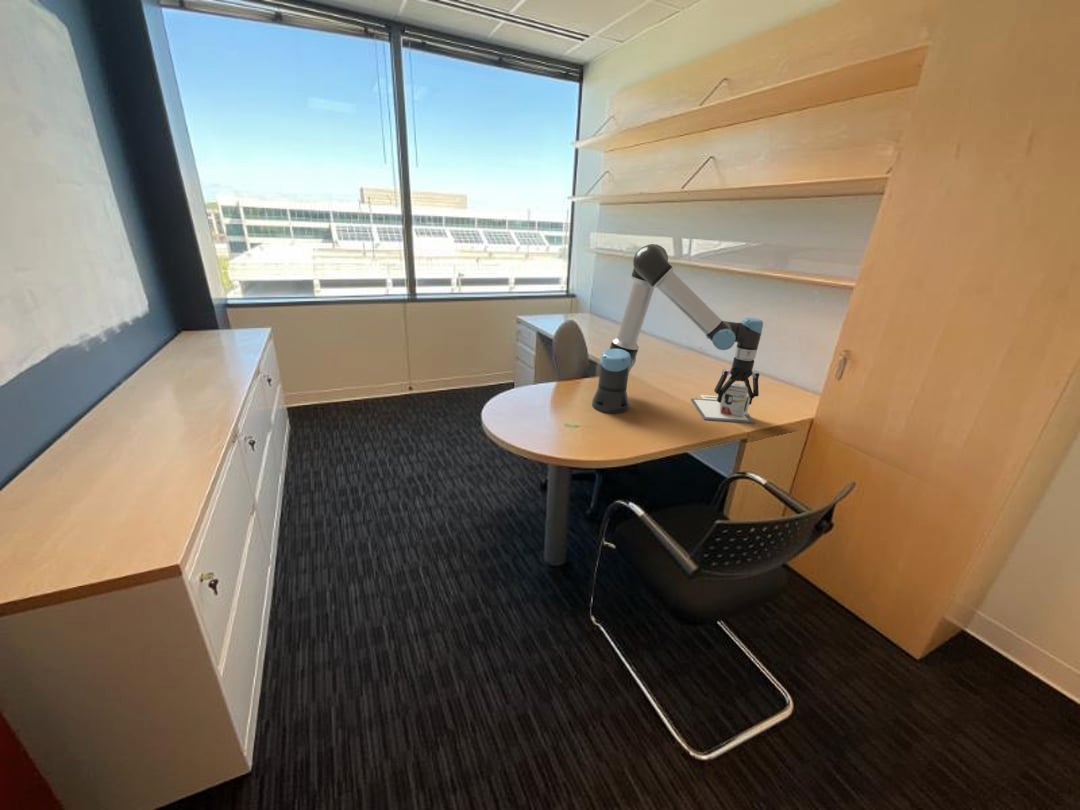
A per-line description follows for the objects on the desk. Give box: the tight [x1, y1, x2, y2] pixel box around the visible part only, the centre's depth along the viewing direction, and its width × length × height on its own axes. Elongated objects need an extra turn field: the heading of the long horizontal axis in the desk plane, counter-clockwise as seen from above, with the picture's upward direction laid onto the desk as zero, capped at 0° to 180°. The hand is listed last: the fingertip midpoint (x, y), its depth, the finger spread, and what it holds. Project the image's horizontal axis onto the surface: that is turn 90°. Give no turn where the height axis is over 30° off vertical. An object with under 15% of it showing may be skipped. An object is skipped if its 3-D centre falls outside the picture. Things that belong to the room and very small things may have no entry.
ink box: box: [721, 383, 748, 416], centre depth 180 cm, size 9×5×12 cm, turn 63°
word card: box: [700, 394, 718, 400], centre depth 200 cm, size 8×5×1 cm, turn 86°
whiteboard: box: [690, 398, 756, 424], centre depth 186 cm, size 20×22×1 cm
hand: (732, 410), depth 182 cm, fingers closed on ink box, 10 cm apart
